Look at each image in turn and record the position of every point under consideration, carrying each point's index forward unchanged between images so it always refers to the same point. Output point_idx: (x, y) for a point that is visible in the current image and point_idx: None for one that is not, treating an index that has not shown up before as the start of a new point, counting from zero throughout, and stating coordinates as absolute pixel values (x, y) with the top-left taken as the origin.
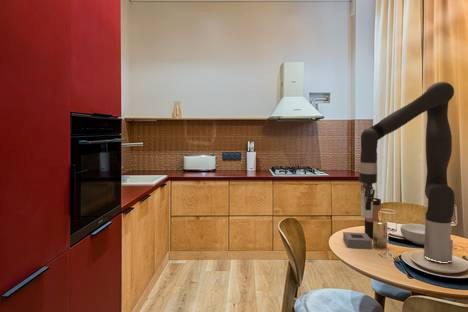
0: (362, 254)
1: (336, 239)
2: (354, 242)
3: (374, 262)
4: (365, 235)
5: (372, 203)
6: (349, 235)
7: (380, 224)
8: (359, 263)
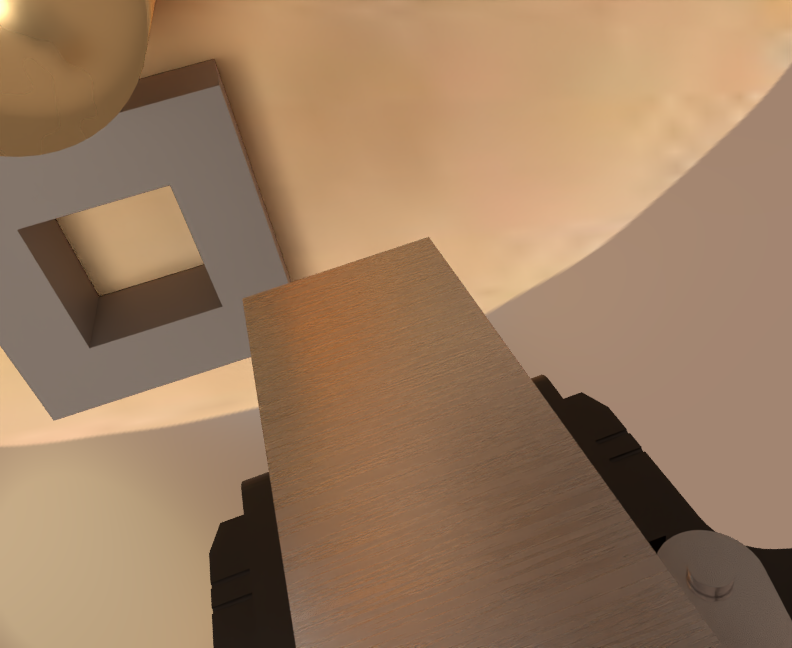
0: (424, 149)
1: (102, 412)
2: (282, 263)
3: (589, 35)
4: (22, 178)
5: (594, 477)
6: (152, 345)
7: (146, 8)
8: (628, 160)
